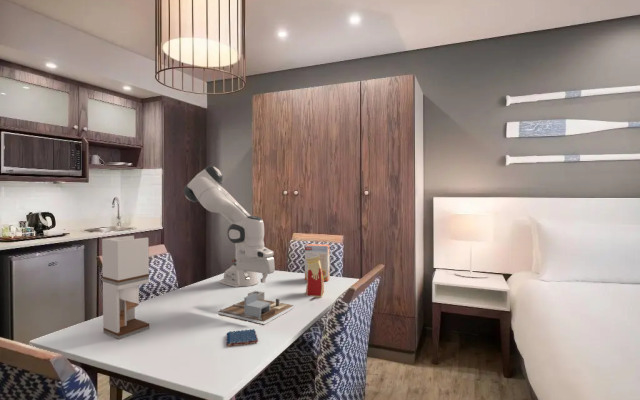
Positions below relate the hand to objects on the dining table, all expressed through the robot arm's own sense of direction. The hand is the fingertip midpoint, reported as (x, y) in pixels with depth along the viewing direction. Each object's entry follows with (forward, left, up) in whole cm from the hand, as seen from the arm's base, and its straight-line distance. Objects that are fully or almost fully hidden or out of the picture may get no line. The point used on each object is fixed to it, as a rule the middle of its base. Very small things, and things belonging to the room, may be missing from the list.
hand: (254, 281), depth 161 cm
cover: (+11, -13, -9) cm, 19 cm away
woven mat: (+19, -32, -12) cm, 39 cm away
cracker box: (+3, +54, -11) cm, 56 cm away
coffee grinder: (-24, -47, -11) cm, 53 cm away
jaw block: (0, 0, -10) cm, 10 cm away
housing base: (+6, -7, -11) cm, 14 cm away
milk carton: (+16, +27, -11) cm, 34 cm away
